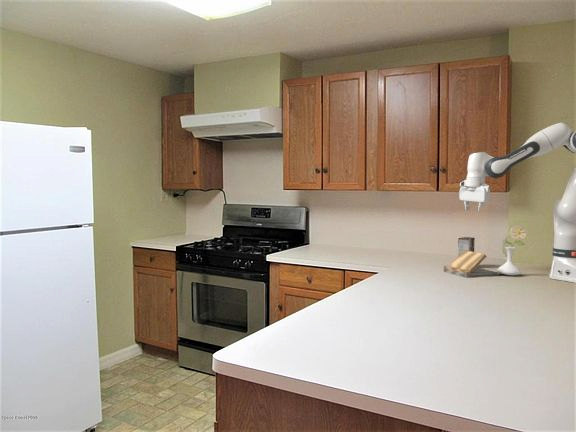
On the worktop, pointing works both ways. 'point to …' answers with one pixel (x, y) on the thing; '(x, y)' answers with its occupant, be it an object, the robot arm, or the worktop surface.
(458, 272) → the underlay panel
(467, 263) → the light wood flat slab
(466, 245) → the coffee box
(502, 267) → the flower in vase
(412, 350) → the worktop surface
